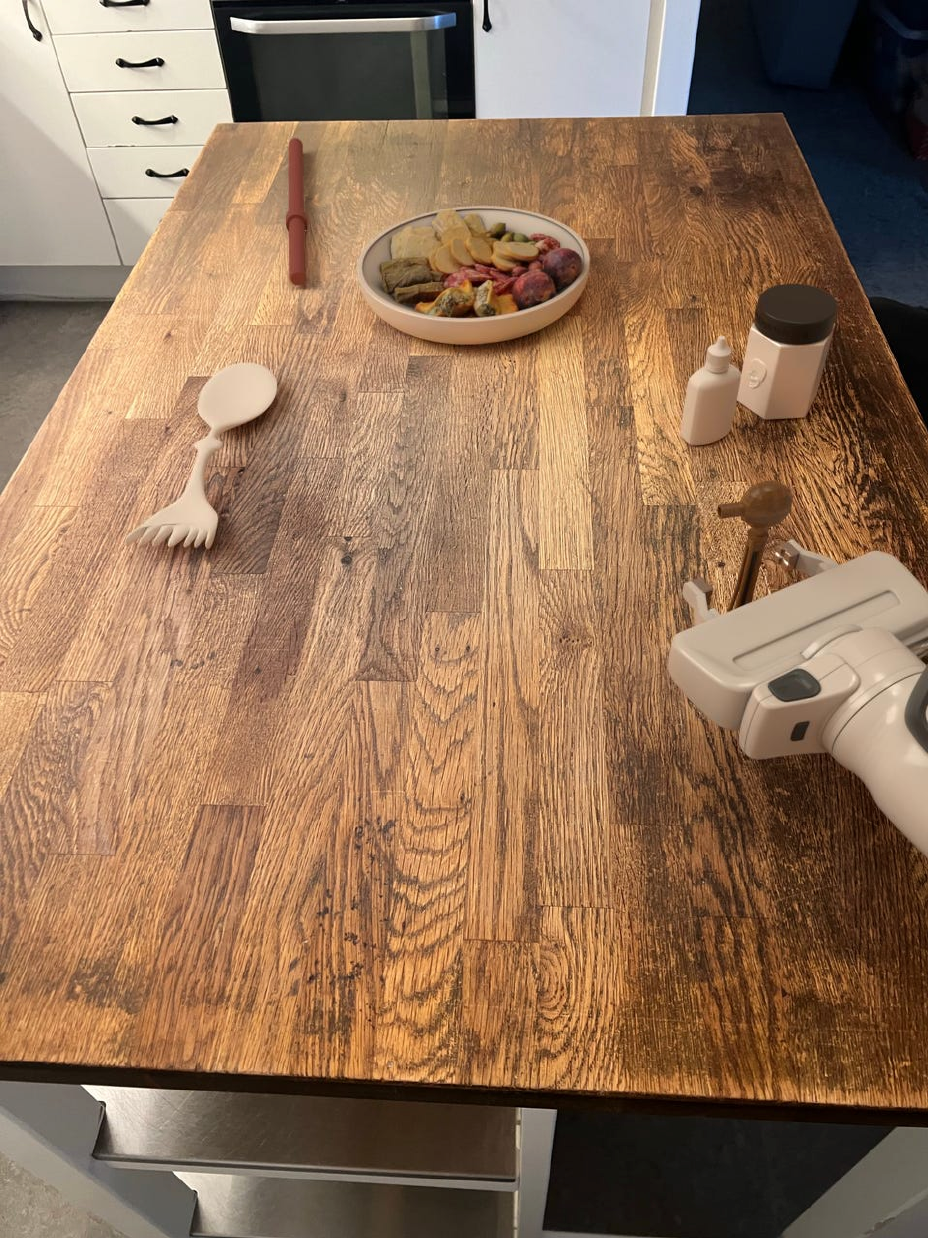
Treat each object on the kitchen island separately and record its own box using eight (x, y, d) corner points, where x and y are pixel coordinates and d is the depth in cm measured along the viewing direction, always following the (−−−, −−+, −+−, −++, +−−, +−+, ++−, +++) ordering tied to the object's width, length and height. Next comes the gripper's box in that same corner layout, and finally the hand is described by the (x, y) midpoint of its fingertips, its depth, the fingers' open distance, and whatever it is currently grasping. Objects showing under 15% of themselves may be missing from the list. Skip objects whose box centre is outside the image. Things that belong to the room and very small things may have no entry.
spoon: (130, 564, 96) (119, 539, 93) (215, 379, 117) (208, 354, 114) (217, 567, 95) (209, 542, 92) (288, 380, 116) (282, 355, 113)
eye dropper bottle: (677, 422, 107) (691, 325, 98) (728, 422, 106) (747, 325, 98) (680, 446, 104) (695, 349, 95) (733, 447, 104) (753, 349, 95)
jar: (721, 392, 110) (738, 296, 101) (774, 368, 113) (795, 273, 104) (776, 431, 105) (799, 334, 96) (831, 405, 108) (858, 308, 99)
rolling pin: (311, 288, 130) (307, 266, 128) (288, 290, 130) (283, 268, 128) (306, 153, 161) (303, 133, 158) (288, 155, 160) (284, 135, 158)
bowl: (325, 338, 122) (315, 280, 116) (409, 229, 141) (404, 175, 135) (553, 373, 114) (555, 313, 109) (610, 253, 133) (614, 196, 127)
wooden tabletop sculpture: (696, 686, 82) (733, 510, 67) (681, 645, 85) (713, 468, 71) (763, 677, 83) (815, 500, 68) (745, 637, 86) (791, 459, 71)
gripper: (983, 606, 68) (850, 494, 77) (746, 715, 63) (632, 582, 71) (954, 662, 73) (832, 551, 81) (731, 768, 68) (625, 637, 76)
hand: (736, 566), depth 76 cm, fingers open, 7 cm apart
